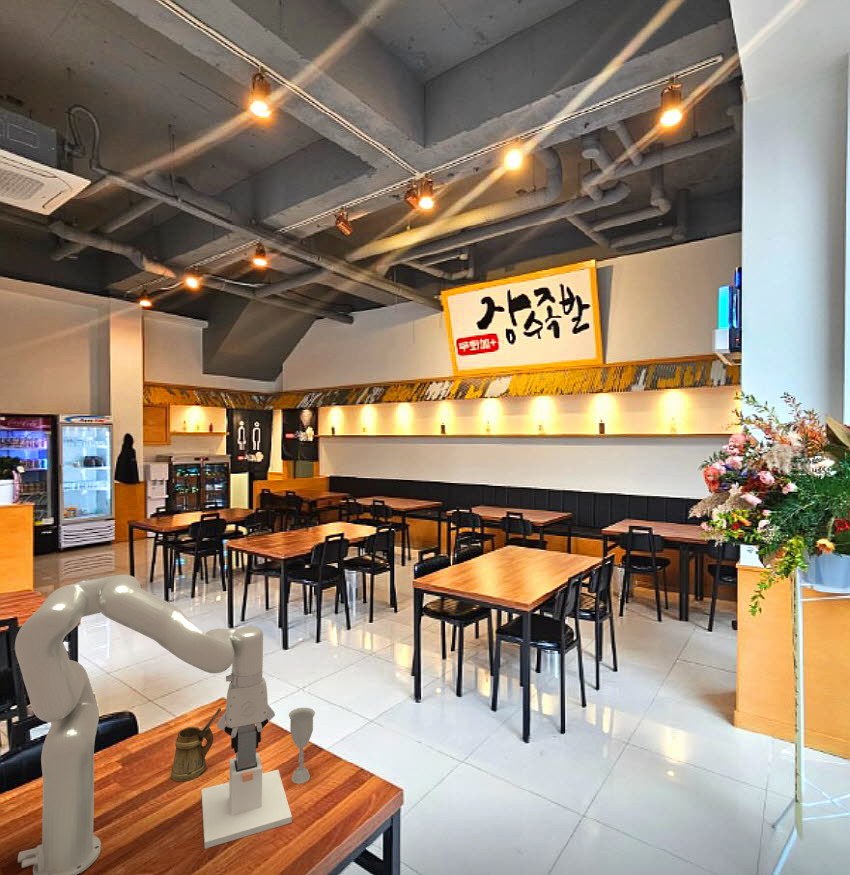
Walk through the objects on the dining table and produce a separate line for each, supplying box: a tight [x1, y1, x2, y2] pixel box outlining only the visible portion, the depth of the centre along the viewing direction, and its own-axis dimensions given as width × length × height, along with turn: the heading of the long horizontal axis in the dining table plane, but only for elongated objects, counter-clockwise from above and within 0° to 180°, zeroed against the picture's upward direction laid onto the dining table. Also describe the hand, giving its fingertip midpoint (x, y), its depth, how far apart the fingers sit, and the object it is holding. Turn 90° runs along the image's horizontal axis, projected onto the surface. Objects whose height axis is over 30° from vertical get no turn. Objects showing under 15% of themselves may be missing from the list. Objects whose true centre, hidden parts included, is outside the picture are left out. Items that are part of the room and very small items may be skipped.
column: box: [235, 724, 257, 772], centre depth 133 cm, size 4×4×16 cm
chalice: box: [288, 707, 316, 785], centre depth 145 cm, size 7×7×18 cm
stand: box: [201, 752, 293, 849], centre depth 133 cm, size 20×20×12 cm
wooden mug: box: [170, 707, 222, 783], centre depth 147 cm, size 9×14×18 cm, turn 92°
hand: (246, 747), depth 133 cm, fingers closed on column, 4 cm apart
